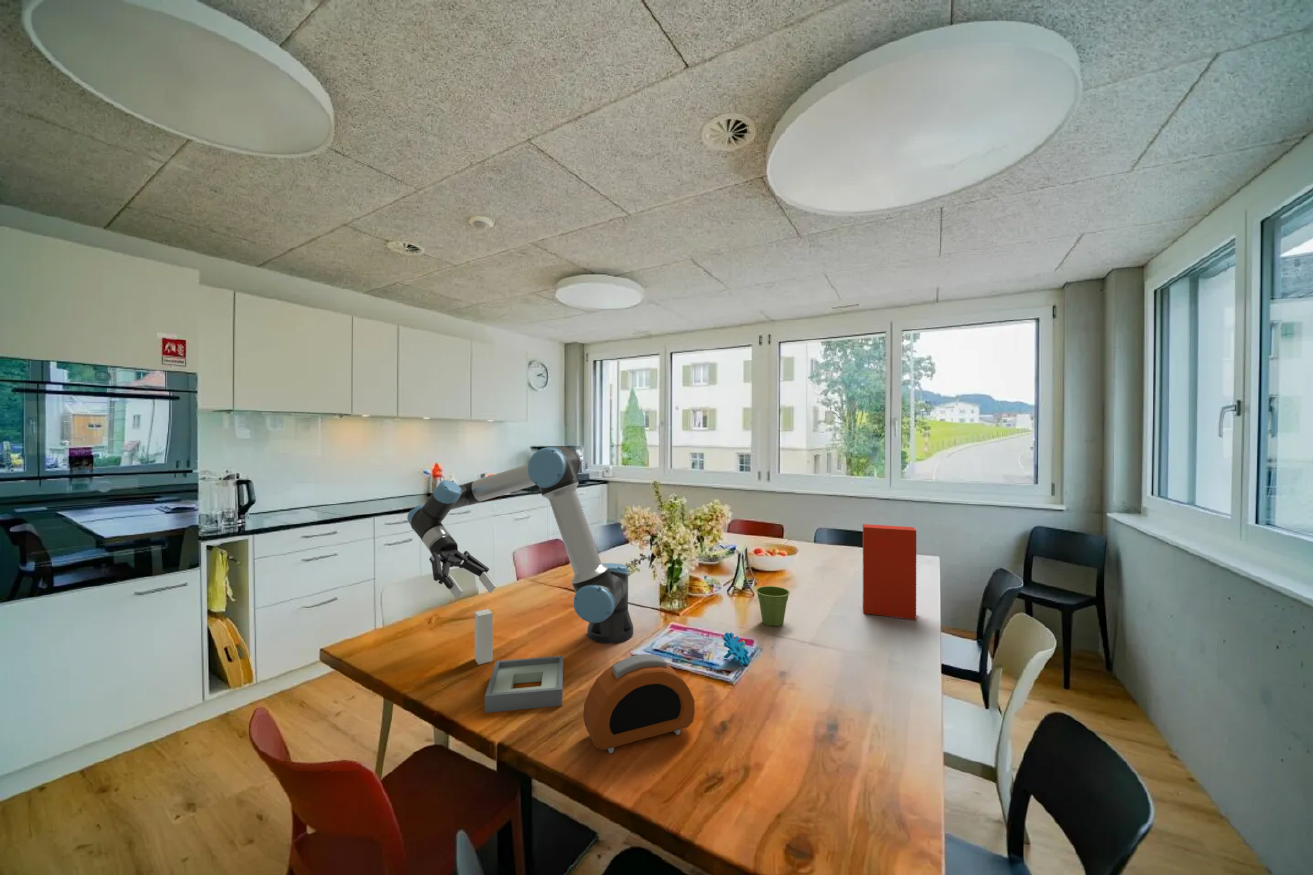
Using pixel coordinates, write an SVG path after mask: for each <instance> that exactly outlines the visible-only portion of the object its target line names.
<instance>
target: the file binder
mask: <svg viewBox="0 0 1313 875" xmlns="http://www.w3.org/2000/svg"><path fill="white" fill-rule="evenodd" d="M862 611H863V612H862V613H863V614H867V615H872V616H873V615H874V616H883V617H890V618H898V619H905V620H906V619H907V620H915V621H916V620H917V529H916V528H915V527H914V526H899V525H887V524H886V525H881V524H865V523H863V524H862Z"/></svg>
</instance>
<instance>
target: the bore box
mask: <svg viewBox="0 0 1313 875" xmlns="http://www.w3.org/2000/svg"><path fill="white" fill-rule="evenodd" d="M537 682H541V685H540V686H528V687H527V686H526V687H517V688H514V685H515V684H523V683H525V684H526V683H537ZM563 688H564V655H555V656H544V657H542V656H540V657H529V658H518V659H517V658H516V659H504V660H496V661H495V663H494V666H493V670H492V673H491V676H490V679H489V682H488V685H487V688H486V691H485V694H484V714H487V713H498V712H509V711H510V712H511V711H519V710H529V709H540V708H549V707H550V708H551V707H561V706H562V707H563V692H564V691H563V690H564V689H563Z"/></svg>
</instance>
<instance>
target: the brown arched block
mask: <svg viewBox="0 0 1313 875" xmlns="http://www.w3.org/2000/svg"><path fill="white" fill-rule="evenodd" d="M695 705H696V704H695V699H694V695H693V694H692V692H691V689H690V688H689V686H688V684H687V683H686V681H685V680H684V679H683V678H682V677H681V676H680V675H679V673H677V672H676V670H674V668H673V667H671V665H670V664H668V663H667V661H666V660H665V659H664V658H663V657H662V656H661V655H657V654H650V653H649V654H647V653H646V654H645V653H644V654H636V655H633V656H628V657H626V658H624V659H621V660H618V661H616V662H615V663H613V664H612V665H611V666H609V667H608V668H606V669H605V670H604V671H603V672H602V673H601V674H600V675H599V676H598V677H596V679H595V681H594V683H593V684H592V686H590V688H589V692H588V693H587V697H586V698H585V701H584V703H583V715H582V716H583V721H584V726H585V729H586V731H587V733H588V734H589V738H590V740H591V741H592V743H593V746H594V747H595V748H596V749H598V750H600V751H606V750H607V751H608V753H609V754H612V753H614V751H615V747H616V748H617V747H620V746H624V745H627V744H632V743H636V742H638V741H639V742H640V741H642V740H646V739H649V738H654V737H658V736H660V735H661V736H662V735H664V734H668V733H672V732H674V733H675V735H676V736H677V735H680V734H681V730H683V729H687V728H689V727H690V726H691V725H692V724H693V722H694V719H695V713H696V710H695V708H696V707H695Z"/></svg>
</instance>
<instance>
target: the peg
mask: <svg viewBox="0 0 1313 875" xmlns="http://www.w3.org/2000/svg"><path fill="white" fill-rule="evenodd" d="M493 618H494V617H493V612H492V611H491V609H490V608H487V609H482V610H477V611H474V660H475V662H476V663H477V665H483V664H486V663H491V662H493V659H494V657H493V653H494V652H493V651H494V650H493V648H494V646H493V642H494V640H493V639H494V638H493V635H494V634H493V633H494V632H493V631H494V628H493V627H494V626H493V623H494V622H493V620H494V619H493Z"/></svg>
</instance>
